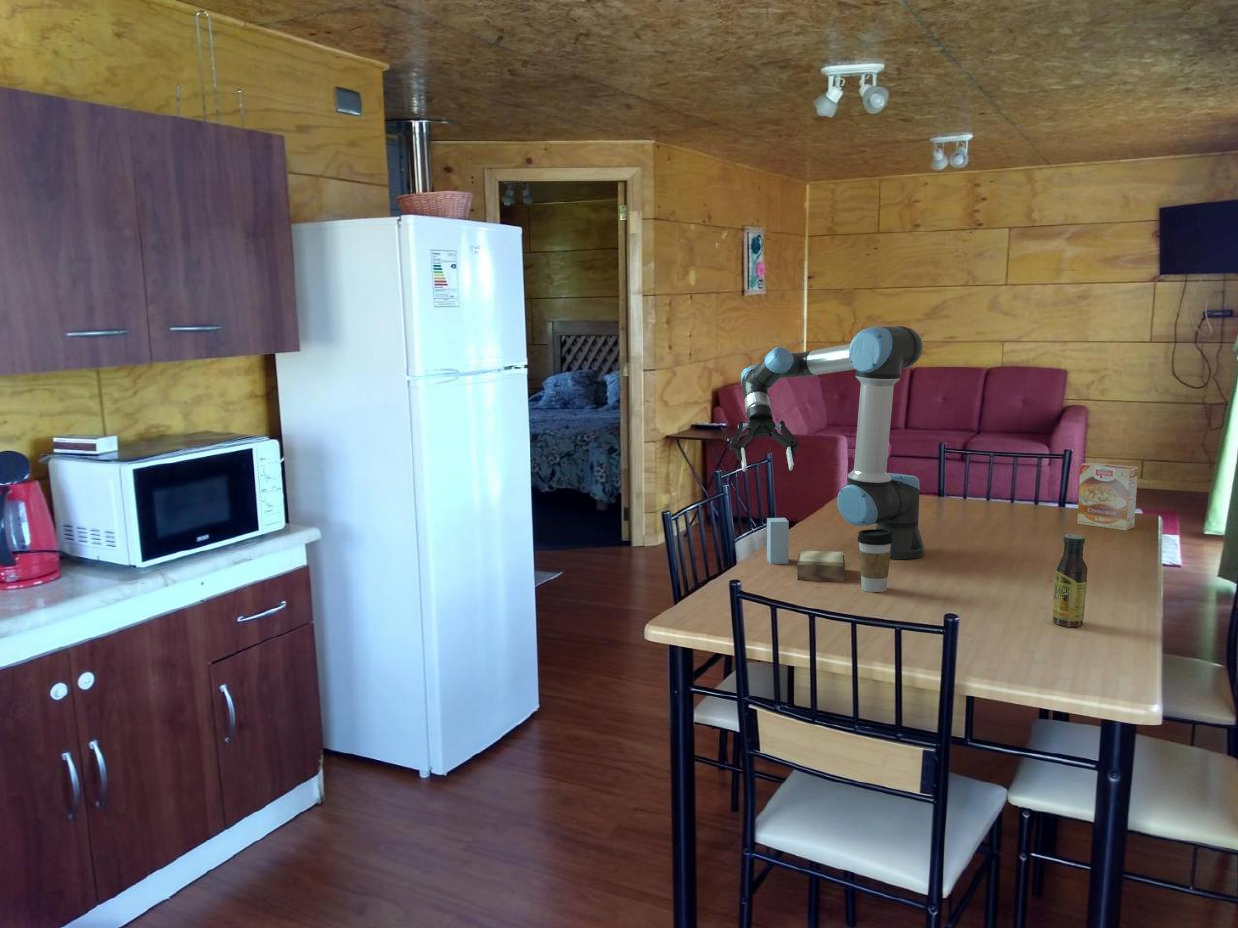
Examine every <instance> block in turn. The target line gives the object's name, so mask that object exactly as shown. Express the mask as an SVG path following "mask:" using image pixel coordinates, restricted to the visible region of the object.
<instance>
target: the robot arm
mask: <svg viewBox="0 0 1238 928" xmlns="http://www.w3.org/2000/svg"><path fill="white" fill-rule="evenodd" d="M923 345H924V344H923V341H922V337H921V336H920V335H919V333H918V332H917V331H916V330H914V329H912V328H911V327H908V326H904V325H899V326H898V325H897V326H880V325H879V326H873V327H867V328H863V329H862V330H860V331H859V332H858V333H856V334H855V336H854V337H853V338H852V339H851V341H850V343H848V344H842V345H841V344H840V345H838V346H835V345H834V346H832V347H826V348H819V349H814V350H808V351H802V352H790V350H788V349H787V348H783V347H782V346H777V347H774V348H773V349H772V350H770V351H769V352H768V353H767V354H766V355H765V356H764V358H763V359H762V360H761V361H760V362H759V363H758V364H757V365H749V366H748V367H746V368H744V369H743V370H742V371H741V374H740V380H741V381H740V383H741V385H740V386H741V388H742V395H743V400H744V407H745V412H746V414H745V415H746V420H747V421H746V422H747V423H746V422H745V423H743V421H742V420H741V421H740V420H739V421H738V424H737V430H736V432H735V434H734V437H733V439H732V441H731V443H730V447H729V450H730V452H733V451H735V454H736V458H737V460H738V461H739V462H740V461H741V462H740V463H741V469H742V472H746V471H747V465H748V464H747V459H746V451H745V447H746V446H747V445H748V444H749V442H750V441H751V440H753V439H754V438H755V437H756V438H768V437H769V438H770V439H771V440H774V441H775V442H777V443H778V444H779V445H780V446H781V447H783V448H785V450H786V452H785V454H786V459H787V464H788V470H789V471H793V468H794V464H795V463H794V461H793V460H795V456H796V453H795V450H796V451H797V450H798V449H799V447H800V442H799V440H797V438H796V437H795V436H794V434H793V433H792V432H791V431H790V430H789V428H788V427H787V425H786V423H785V421H784V420H780V422H775V421H774V418H773V412H772V406H771V401H770V395H769V390H770V389H771V388H772V387H773V386H774V385H775V384H776V383H777V382H778V381H779V380H781V379H793V378H794V379H795V378H810V377H813V376H818V375H823V374H825V375H826V374H831V373H837V372H845V371H851V370H855V378H856V379H857V380H858V382H859V383H860V388H859V391H860V392H859V401H858V414H857V424H856V425H857V427H856V429H857V430H856V438H855V439H856V441H855V452H854V453H855V454H854V463H853V469H852V471H850V472H849V473H848V474H847V480H846V481H847V482H846V486H843V488H842V489H841V490H840V491H839V492H838V495H837V499H836V500H837V501H836V502H837V508H838V511H839V514H840V515H841V516H842V517H843V519H844V520H845V521H846V522H847V523H848V524H850V525H851V526H854V527H855V526H856V527H868V526H873V525H875V528H874V529H888V530H891V531H892V538H893V540H892V541H893V542H892V543H891V547H890V550H891V555H890V560H914V559H918V558H922V557H923V556H924V555H925V545H924V541H923V539H922V534H921V531H920V529H919V523H920V522H919V521H920V520H919V517H920V492H921V488H920V479H919V477H917V476H915V475H912V474H909V475H908V474H902V473H893V472H887V469H888V468H887V466H888V456H889V442H890V433H891V432H890V431H891V421H892V411H893V410H892V409H893V400H894V398H893V397H894V387H895V384H896V383H897V382H899V381H900V380H901V375H902V370H904V369H907V368H910V367H912V366H914V364H916V363H917V362H918V361H919V360H920V358H921V356H922V354H923V348H924V346H923ZM746 429H747V431H748V433H747V434H746V435H745V436H744V437H743V438H742V440H741V441H740V442H739V443H738V441H739V440H740V438H741V436H742V433H743V432H744V431H745V430H746ZM778 431H779V432H778ZM737 443H738V444H737Z"/></svg>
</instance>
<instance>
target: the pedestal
mask: <svg viewBox="0 0 1238 928" xmlns="http://www.w3.org/2000/svg"><path fill="white" fill-rule="evenodd" d="M797 558H798V559H797V567H796V568H797V569H796V571H797V574H796V575H797V581H815V582H818V581H819V582H838V583H839V582H841V583H842V582H845V581H846V580H845V579H846V564H845V563H846V562H845V561H846V560H845V555H844V554H843V551H826V550H821V551H820V550H800V553H798V555H797Z"/></svg>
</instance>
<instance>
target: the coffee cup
mask: <svg viewBox="0 0 1238 928" xmlns="http://www.w3.org/2000/svg"><path fill="white" fill-rule="evenodd" d="M892 540H893V538H892V531H891V530H888V529H875V528H870V529H869V528H868V529H863V530H859V531H858V536H857V542H858V544H859V545H858V546H859V548H858V557H859V569H860V577H861V578H860V580H861V581H860V583H861V590H862V591H864V592H866V591H868V592H867V593H871V592H881V593H884V591H885V592H886V591H887V586H888V578H889V577H888V576H889V570H890V569H889V568H890V562H891V559H890V555H891V550H890V547H891V543H892V542H893V541H892Z"/></svg>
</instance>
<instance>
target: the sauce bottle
mask: <svg viewBox="0 0 1238 928" xmlns="http://www.w3.org/2000/svg"><path fill="white" fill-rule="evenodd" d="M1085 540H1086V537H1085V536H1084V535H1080V534H1076V533H1075V534H1074V533H1071V534H1070V533H1069V534H1068V533H1067V534H1065V535H1064V537H1063V546H1064V547H1063V552H1062V553H1063V554H1062V556H1061V558H1060V560H1059V562H1058V565H1057V566H1056V569H1055V577H1054V579H1055V580H1054V586H1053V587H1054V589H1053V599H1052V600H1053V603H1052V621H1053V623H1054V624H1055V625H1058V626H1061V627H1064V628H1078V627H1081V626H1083V624H1084V621H1083V620H1084V618H1085V608H1086V607H1085V606H1086V605H1085V604H1086V597H1087V596H1086V595H1087V584H1088V583H1087V582H1088V580H1087V578H1088V577H1087V576H1088V566H1087V564H1086V562H1085V560H1084V559H1083V558H1084V553H1083V552H1084V545H1085Z"/></svg>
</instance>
